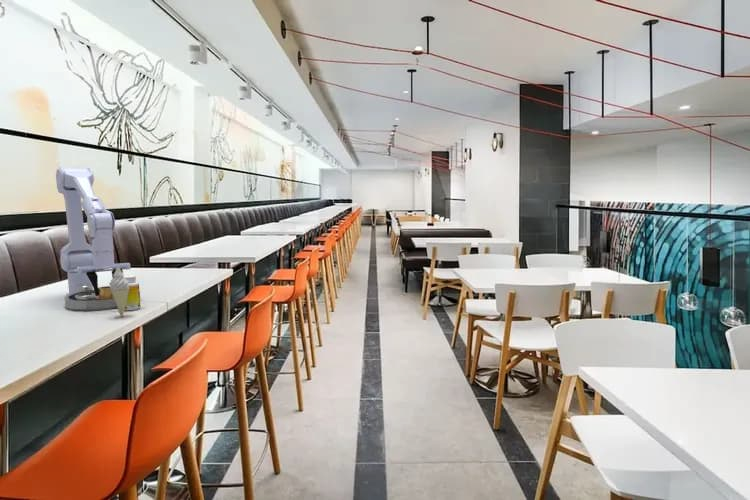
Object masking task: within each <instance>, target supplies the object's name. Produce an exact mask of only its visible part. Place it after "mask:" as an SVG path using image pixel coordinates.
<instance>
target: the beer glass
mask: <svg viewBox="0 0 750 500" xmlns="http://www.w3.org/2000/svg"><path fill="white" fill-rule="evenodd" d="M124 277H125V278H126V279H127V281H128V282H129V284H128V285H129V286H128V287H129V291H128V296H127V300H126V304H125V309H124V312H125V311H128V312H129V311H135V310H138V309H140V308H141V291H140V283H139V282H138V281H137V277H136V275H133V274H129V275H128V274H126V275H124ZM139 291H140V292H139Z"/></svg>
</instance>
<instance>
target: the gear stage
mask: <svg viewBox="0 0 750 500" xmlns="http://www.w3.org/2000/svg"><path fill="white" fill-rule="evenodd" d="M139 292H140V293H141V291H140V290H139ZM95 297H98V296H96V295H95V291H94V289H93V290H92V285H91V284H83V285H78V286H77V293H73V294H70V295H68V296H67V295H66V296H64V306H65V309H66V310H69V311H73V312H96V311H98V312H99V311H108V310H115V309H118V307H117V305H116V302H115V300H114V298H112V299H104V300H95Z"/></svg>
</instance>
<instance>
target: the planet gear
mask: <svg viewBox="0 0 750 500" xmlns="http://www.w3.org/2000/svg"><path fill="white" fill-rule="evenodd" d="M110 289H111V288H110V285H106V286H100V287H99V286H98V290H99V296H98V297H95V300H104V299H112V298H114V297H113V295H112V292H111V290H110Z"/></svg>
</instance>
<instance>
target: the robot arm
mask: <svg viewBox="0 0 750 500" xmlns="http://www.w3.org/2000/svg"><path fill="white" fill-rule="evenodd" d="M55 180H56V181H55V182H56V189H57V192H58V193H59V194H62V195H63V198H64V205H65V215H66V224H67V234H68V243H67V244H66V245H64V246H63V247H62V248H61V249H60V259H59V262H60V267H61V269H62V270H63V271H64V272H66V273H67V283H68V284H67V285H68V293H65V294H66V296H68V295H70V294H73V293H77V286H78V285H83V284H91V285H92V290H94V291H95V295H96V296H99V290H98V288H99V284H98V276H99V275H98V274H97V273H101V272H103V273H104V272H111V276H112V279H113V278H114V276H113V275H114V273H115V271H116V268H117V265H118V266H119V268H120V270H121V272H122V273H123V274H124V270H131V263H129V262H123V263H122V262H121V263H119V262H117V263H115V255H114V254H115V253H114V239H113V231H114V229H115V227H116V221H115V216H114V213H113V212H112V211H109V210H107V209H106V207H105V205H104V203H103V201H102V199H101V198H100V197H99V196H97V195H96V193H95V192H94V189H93V185H94V181H95V175H94V172H93V170H92V169H91V168H89V167H86V168H85V167H83V168H82V167H80V168H79V167H62V166H59V167H58V168H57V169H56V173H55ZM83 211H84V213H85V216H86V217H87V219H86V223H87V228H88V232H89V233H88V234H89V237H90V238H91V244H89V243H88V242H86V235H85V226H84V217H83Z"/></svg>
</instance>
